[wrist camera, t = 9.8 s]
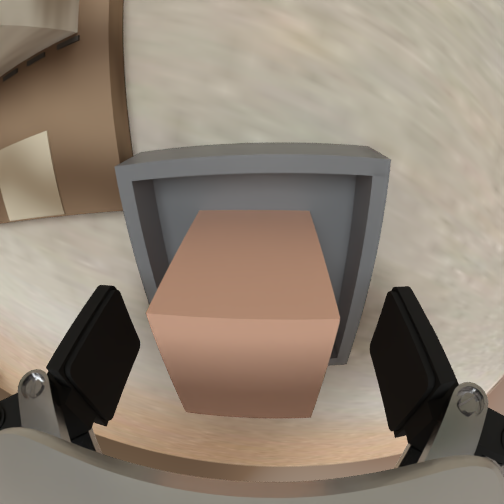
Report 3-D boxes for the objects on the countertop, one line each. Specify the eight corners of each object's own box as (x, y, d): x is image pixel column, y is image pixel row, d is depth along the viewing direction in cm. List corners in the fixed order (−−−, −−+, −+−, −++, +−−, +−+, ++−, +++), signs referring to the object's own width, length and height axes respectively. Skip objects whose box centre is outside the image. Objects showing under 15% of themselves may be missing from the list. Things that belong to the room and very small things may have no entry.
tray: (339, 332, 15) (346, 364, 13) (180, 331, 16) (170, 361, 14) (368, 146, 10) (390, 159, 8) (140, 152, 11) (114, 166, 9)
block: (300, 306, 14) (310, 417, 8) (211, 304, 14) (186, 412, 9) (309, 210, 11) (340, 318, 6) (199, 210, 11) (146, 313, 6)
